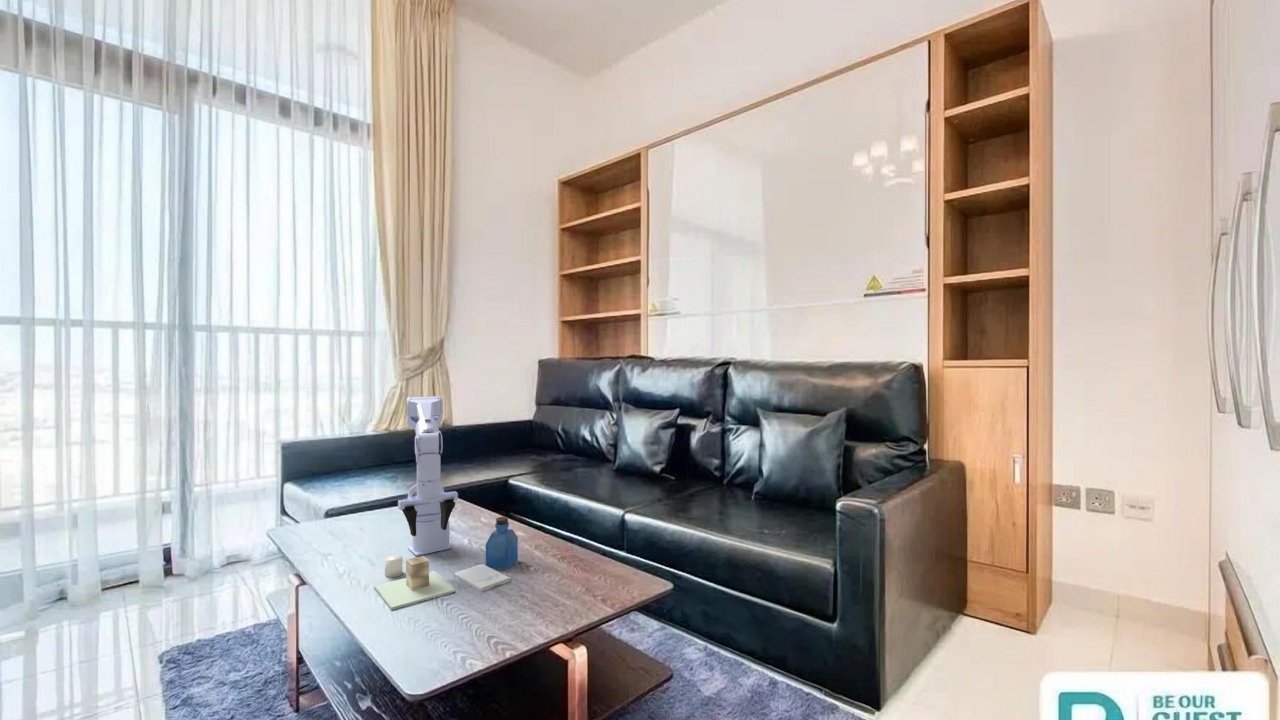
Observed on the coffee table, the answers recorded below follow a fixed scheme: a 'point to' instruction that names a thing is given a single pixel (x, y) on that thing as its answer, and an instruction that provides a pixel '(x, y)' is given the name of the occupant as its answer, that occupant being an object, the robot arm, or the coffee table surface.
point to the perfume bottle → (502, 546)
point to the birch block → (417, 572)
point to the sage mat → (401, 594)
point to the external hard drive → (481, 577)
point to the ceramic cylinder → (393, 566)
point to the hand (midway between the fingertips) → (428, 532)
